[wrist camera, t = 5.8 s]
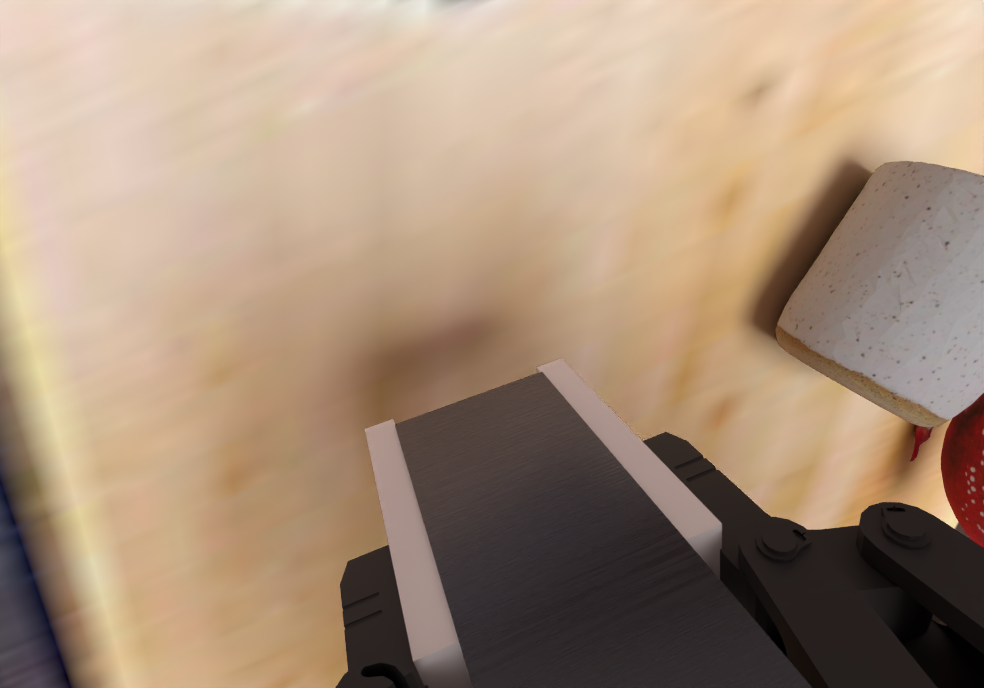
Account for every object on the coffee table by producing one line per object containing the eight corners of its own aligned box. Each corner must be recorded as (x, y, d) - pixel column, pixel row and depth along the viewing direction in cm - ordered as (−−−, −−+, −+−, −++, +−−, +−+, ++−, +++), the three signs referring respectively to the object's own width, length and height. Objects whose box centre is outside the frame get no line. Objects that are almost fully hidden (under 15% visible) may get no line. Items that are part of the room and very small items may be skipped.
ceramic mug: (727, 325, 24) (894, 421, 17) (840, 145, 22) (1078, 177, 15) (858, 386, 29) (1027, 477, 22) (960, 243, 27) (1179, 298, 20)
